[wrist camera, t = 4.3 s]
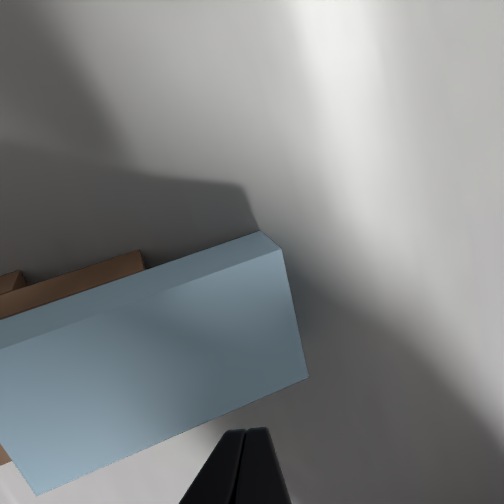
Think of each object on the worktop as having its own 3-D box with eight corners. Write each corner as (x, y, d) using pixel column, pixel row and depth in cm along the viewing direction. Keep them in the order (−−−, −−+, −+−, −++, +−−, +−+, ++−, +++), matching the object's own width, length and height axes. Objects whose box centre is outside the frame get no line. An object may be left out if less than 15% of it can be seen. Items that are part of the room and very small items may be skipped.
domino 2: (281, 248, 11) (-51, 367, 9) (308, 377, 13) (36, 496, 11) (260, 230, 12) (-31, 330, 10) (287, 348, 14) (43, 449, 12)
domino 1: (143, 269, 11) (-190, 381, 10) (188, 389, 13) (-87, 501, 12) (138, 249, 13) (-153, 345, 11) (179, 360, 15) (-66, 456, 13)
